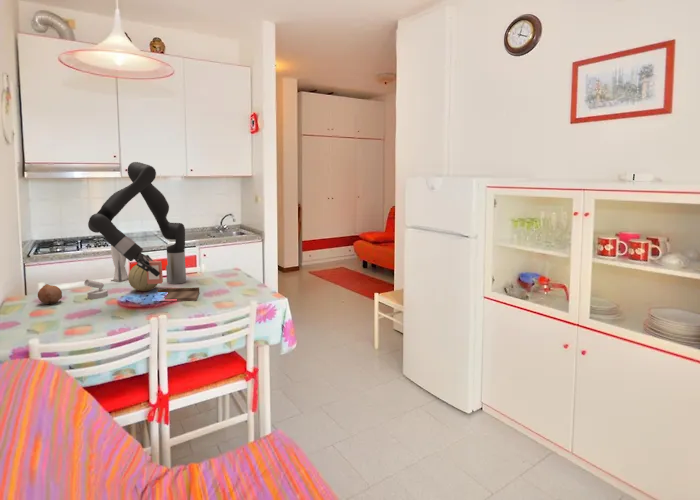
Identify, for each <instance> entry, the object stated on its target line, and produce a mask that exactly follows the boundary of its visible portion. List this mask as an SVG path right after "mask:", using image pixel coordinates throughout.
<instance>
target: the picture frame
mask: <svg viewBox="0 0 700 500" xmlns="http://www.w3.org/2000/svg"><path fill="white" fill-rule="evenodd" d="M149 262H150V265H151V266H153V268H155V269H156V270H157V271H158V272H160V274H159V275H158V276H157V277H156V276H155V275H154V274H152V273H151V272H149V271H148V272H147V283H148V284H157V285H158V284H161V285H162V283H163V282H164V280H163V279H164V278H163V264H162V263H163V261H162V260H153V261H149ZM147 268H148V267H147Z"/></svg>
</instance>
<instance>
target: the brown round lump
mask: <svg viewBox="0 0 700 500" xmlns="http://www.w3.org/2000/svg"><path fill="white" fill-rule="evenodd" d="M62 298H63V292H62V290H61V288H60V287H59V286H57V285H49V284H47V283H45V284H44V285H42V287H41V288H39V290H38V292H37V299H38V300H39V301H40V302H41V303H43V304H46V305H54V304H57V303H58V302H59V301H60V300H61V299H62Z"/></svg>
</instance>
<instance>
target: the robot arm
mask: <svg viewBox="0 0 700 500" xmlns="http://www.w3.org/2000/svg"><path fill="white" fill-rule="evenodd" d="M127 175H128V178H129V179H130V181H131V183H130V184H129V185H127V186H125V187H123V188H122V189H119V190H117V191H115V192H114V193H113V194H111V196H110V197H108V198H107V199H106V201H105V202H103V204H102V205H101V208H100V209H99V210H98V211H97V212H96V213H94V214H92V215H91V216H90V217H89V220H88V223H87V226H88V229H89V230H90V231H91V232H92V233H97V234H98V233H100V234H101V236H103V237H104V239H105V241H106V242H107V243H109V244H110V245H112V246H113V247H114V248H115V249H116V250H117V251H118V252H120V253H121V254H122V255H123V256H124V257H126V260H128V261H129V262H133V261H135V262H136V264H135V265H137V266H139V267H140V268H142V269H144V270H145V271H147V272H148V271H149V272H151V273H152V274H154V275H155V276H156V277H157V276H158V275H159V274H160V272H158V271H157V270H156V269H155V268H153V266H151V265H150V262H149V261H154V260H153V259H152V258H151V257H150V255H148V254H143V253H142V252H143V250H144V249H143V248H142V247H141V246H140V245H139V244H137V243H136V242H135V241H134V240H132V238H130V237H128V236H127V235H126V234H125V233H123V232H122V231H121V230H120V229H119V228H118V227H117V226H116V225H115V224H114V223H113V220H114V218H115V217H116V216H118V214H119V213H120V212H121V211H122V210H123V209H124V207H125V206H127V204H128V203H129V202H130V201H131V200H133V198H135V197H136V196H137V195H138V194H140V195H141V196H142V199H143V200H144V201H145V203H146V205H147V207H148V209H149V210H150V212H151V214H152V215H153V217H154V220H155V221H156V223H157V225H158V228H159V230H160V233H161V234H162V236H163V237H164V238H165V239H167V240H172V241H175V242H174V244H172V245H169V246H166V259H167V265H165V271H166V282H167V283H168V284H171V285H172V284H173V285H174V284H175V285H179V284H184V283H186V282H187V270H186V269H187V267H186V249H185V248H186V229H185V225H184V224H183V223H181V222H170V221H169V219H167V217H168V214H169V212H170V211H169V210H170V204H169V202H168V201H167V198H166V197H165V196H164V194H163V193H162V192H161V191H160V189H158V188H157V187H156V186H154V184H152V183H153V182H154V181H155V179H156V176H157V171H156V169H155V167H154V166H152V165H150V164H146V163H143V162H138V161H133V162H131V163H130V164H129V165H128V167H127ZM147 267H148V268H147Z"/></svg>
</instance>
